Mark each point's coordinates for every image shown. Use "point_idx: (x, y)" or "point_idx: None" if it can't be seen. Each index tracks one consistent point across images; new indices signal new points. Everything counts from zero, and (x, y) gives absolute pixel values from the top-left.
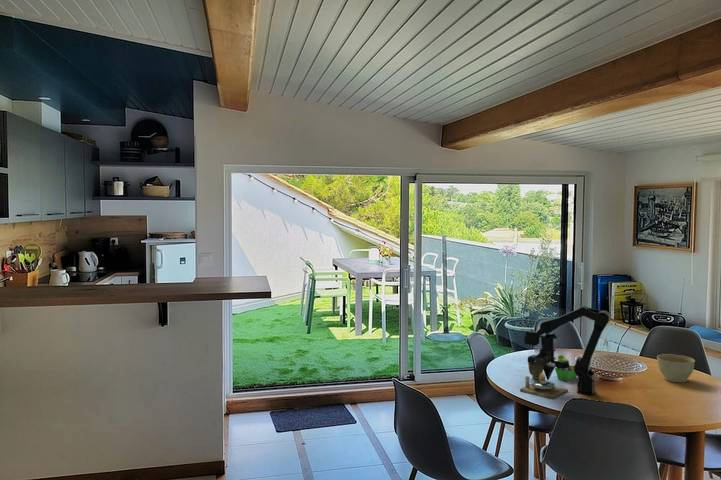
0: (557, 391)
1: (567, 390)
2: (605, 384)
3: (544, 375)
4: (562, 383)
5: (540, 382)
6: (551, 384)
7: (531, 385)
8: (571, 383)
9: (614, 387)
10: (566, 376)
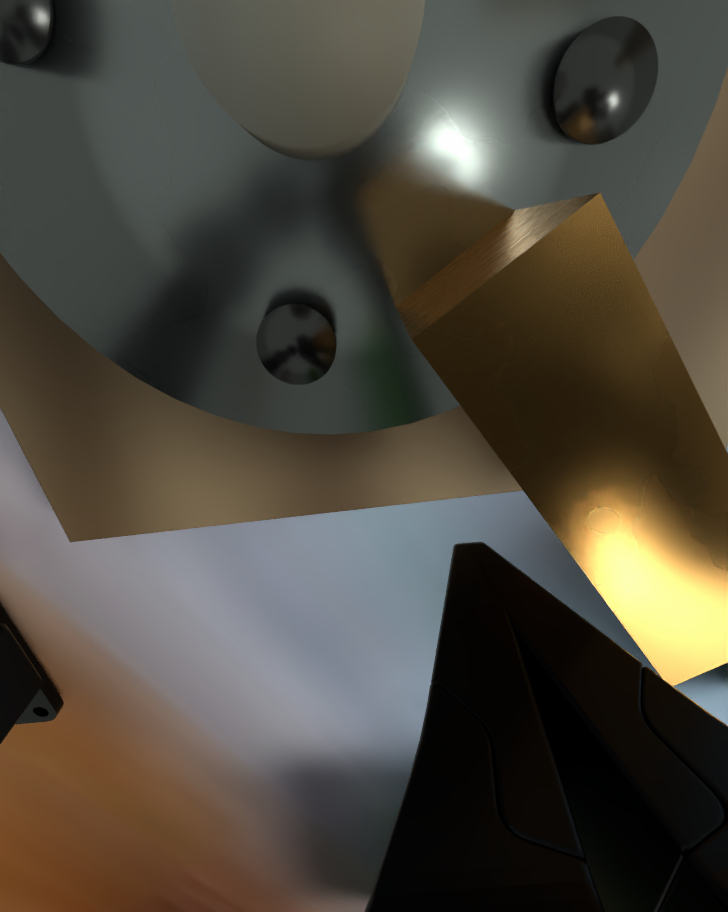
0: None
1: (75, 519)
2: (113, 908)
3: (565, 535)
4: (385, 720)
5: (497, 155)
6: (144, 279)
7: (723, 129)
8: (316, 776)
9: (8, 899)
10: None
